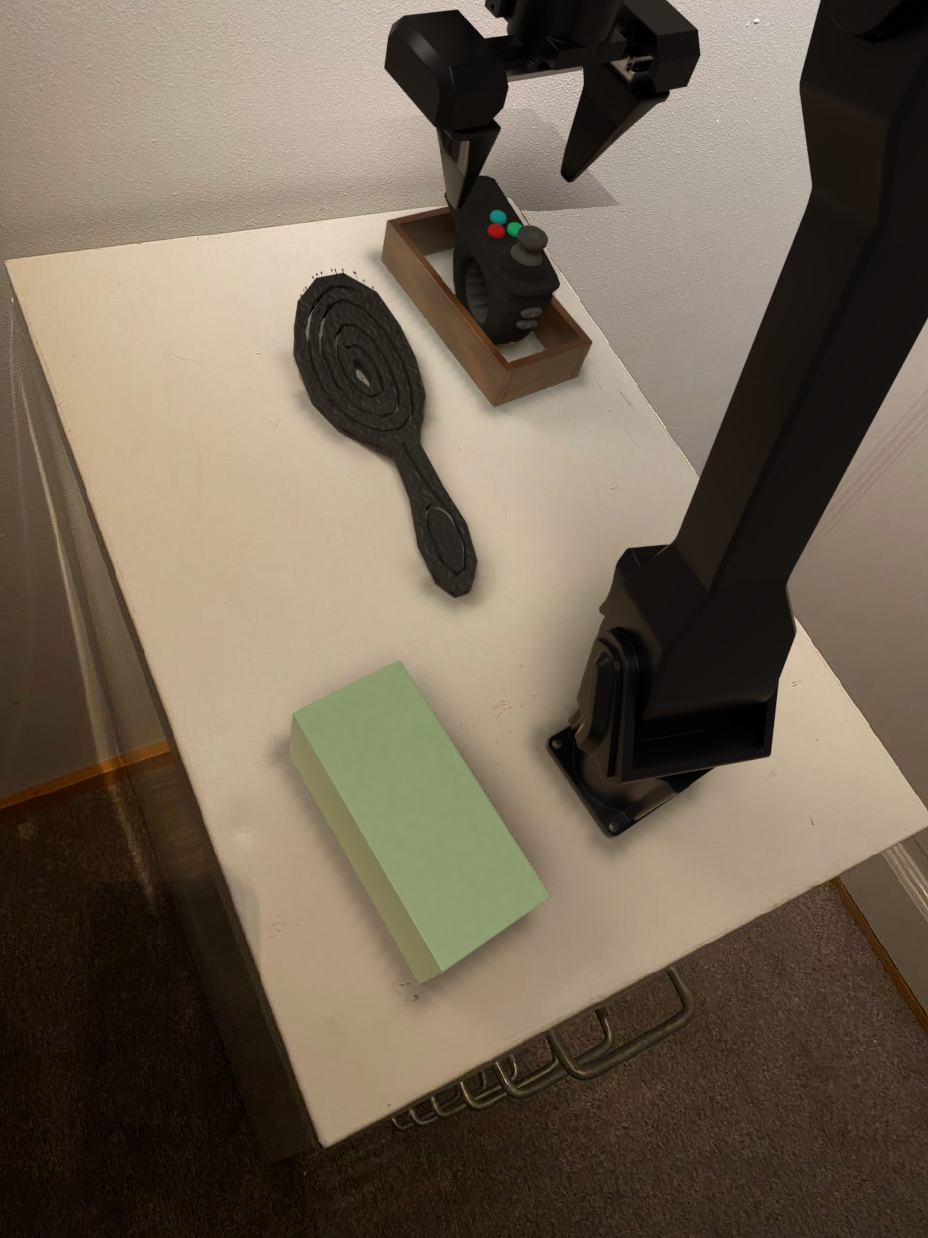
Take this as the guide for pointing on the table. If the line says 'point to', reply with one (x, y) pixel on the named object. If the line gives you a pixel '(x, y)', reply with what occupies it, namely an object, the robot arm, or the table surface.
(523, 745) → the table surface
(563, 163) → the robot arm
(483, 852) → the mint green rectangular brick
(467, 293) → the controller
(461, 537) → the hairbrush
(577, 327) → the frame
